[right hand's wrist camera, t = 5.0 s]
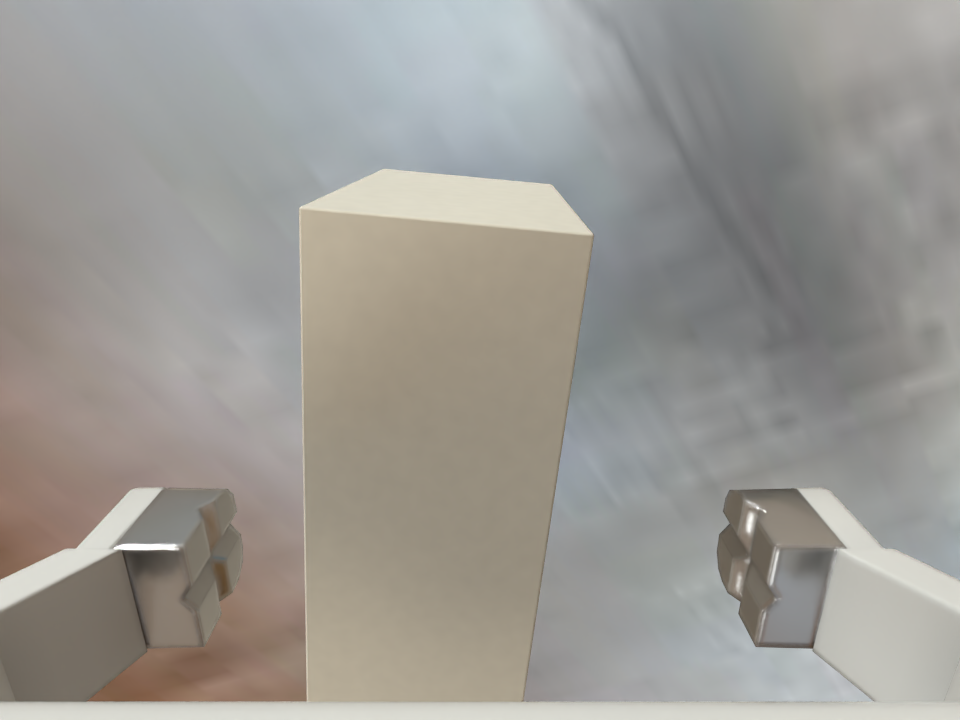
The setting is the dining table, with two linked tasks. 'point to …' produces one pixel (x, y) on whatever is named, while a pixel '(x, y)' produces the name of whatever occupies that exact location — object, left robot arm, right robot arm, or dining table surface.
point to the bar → (432, 429)
